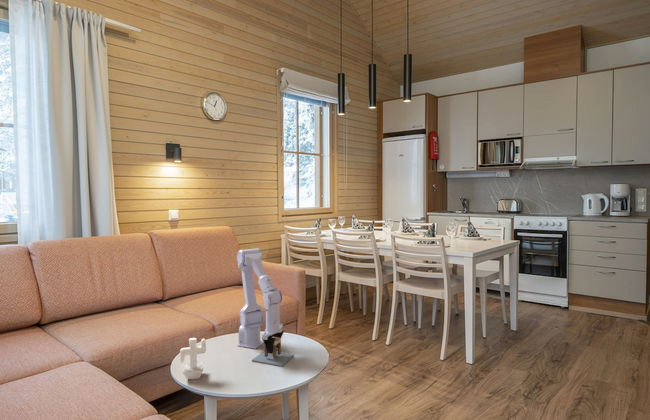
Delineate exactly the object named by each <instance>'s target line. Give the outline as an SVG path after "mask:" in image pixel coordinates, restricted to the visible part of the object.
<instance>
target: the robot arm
mask: <svg viewBox="0 0 650 420" xmlns="http://www.w3.org/2000/svg"><path fill="white" fill-rule="evenodd" d="M262 259H263V254H262V250H261V249H260V248H259V247H256V248H250V249H249V248H247V249H240V250H238V252H237V254H236V261H237V266H238V267H237V268H238V269H240V272H241V279H242V287H243V296H244V303H245V304H244V306H243V307H242V308H241V309H240V311H239V322H240V326H239V329H238V344H237V346H238V347H243V348H248V349H249V348H250V349H253V350H254V349H257V348H258V347H260V346H261V345H263V344H264V347H265V346H266V349H267V353H271V354H272V353H273V346H274V341H275V339H276V338H273V337H279V338H281V339H282V337H283V335H284V330H283V327H284V326H283V325H284V324H283V323H280V322H281V321H280V320H281V319H280V317H281V315H280V304H281V303H282V301H283V295H282V292H281V290H280V289H278V287H276V286H275V284H274V282H273V280H272V278H271V276H270V275H267V273H266V271H265V267H264V265H263V261H262ZM253 271H254V273H255V275H256V276H257V278H258V281H257V283H258V286H259V289H260V290H261V292H262V295H263V296H262V300H263V306H264V309H265V313H264V312H263V311H264V310H263V307H262V306H261V305H260V304H258V303H257V298H256V290H255V281H254V274H253ZM264 321H265V330H264V332H263V334H261V326H262V324H263V322H264ZM277 349H278V344H277Z"/></svg>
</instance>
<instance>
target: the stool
mask: <svg viewBox="0 0 650 420" xmlns="http://www.w3.org/2000/svg"><path fill="white" fill-rule="evenodd" d="M273 338H276V339H275V341H274V346H273V353H272V354H273V358H277V352H278V355H280V354H281V353H282V337H281V338H279V337H273ZM277 344H278V349H277ZM264 350H265V357H267V356H268V353H267V349H266V346H265V345H264ZM270 354H271V353H270Z"/></svg>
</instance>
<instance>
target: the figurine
mask: <svg viewBox="0 0 650 420" xmlns="http://www.w3.org/2000/svg"><path fill="white" fill-rule="evenodd" d="M197 342H198V340H197V338H196V337H190V338H189V339H188V344H189V347H182V348H180V350H179V361H180V363H184V365H183V370H182V374H183V375H184V377H185V378H186V380H187V379H191V380H196V379H197V380H198V379H200V378H201V376H202V375H203V371H204V362H203V361H202V362H198V360H197V355H200V354H205V353H206V349H207V347H206V346H207V341H206V338H201V340H200V343H201V345H198V346H197ZM185 356H189V363H185V361H186V360H185V358H186V357H185Z"/></svg>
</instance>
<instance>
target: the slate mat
mask: <svg viewBox="0 0 650 420" xmlns="http://www.w3.org/2000/svg"><path fill="white" fill-rule="evenodd" d="M294 356H295V354H291V353H286V352H281V354H280V355H278V351H277V358H273V354H270V353H268V356H267V357H265V349H264V350H263V351H262V352H260V353H259V354H258V355H256V356H255V357H254V358H253V359H252V360H251V363H259V364H263V365H270V366H276V367H279V368H280V367H284V366H285V365H286V364H287V363H288V362H289V361H291V360H292V358H294Z"/></svg>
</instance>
